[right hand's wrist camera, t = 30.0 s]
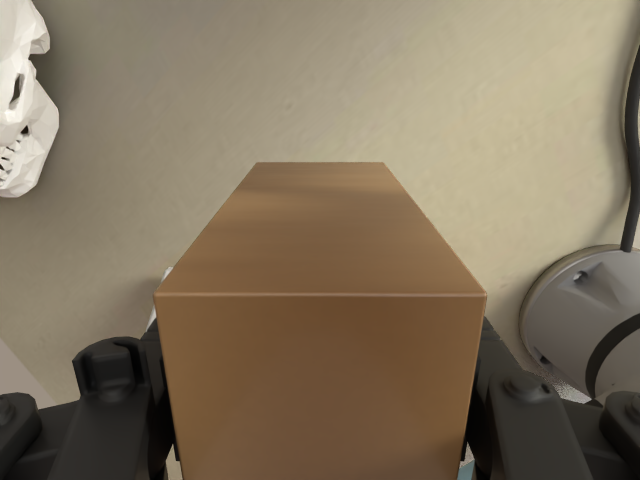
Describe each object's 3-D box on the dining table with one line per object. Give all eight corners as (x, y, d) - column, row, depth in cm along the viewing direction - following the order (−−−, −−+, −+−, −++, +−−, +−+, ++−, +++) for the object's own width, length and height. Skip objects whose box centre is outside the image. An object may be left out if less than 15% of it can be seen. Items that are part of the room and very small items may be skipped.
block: (264, 319, 18) (199, 594, 8) (255, 161, 16) (150, 293, 6) (375, 319, 18) (440, 594, 8) (384, 161, 16) (489, 293, 6)
